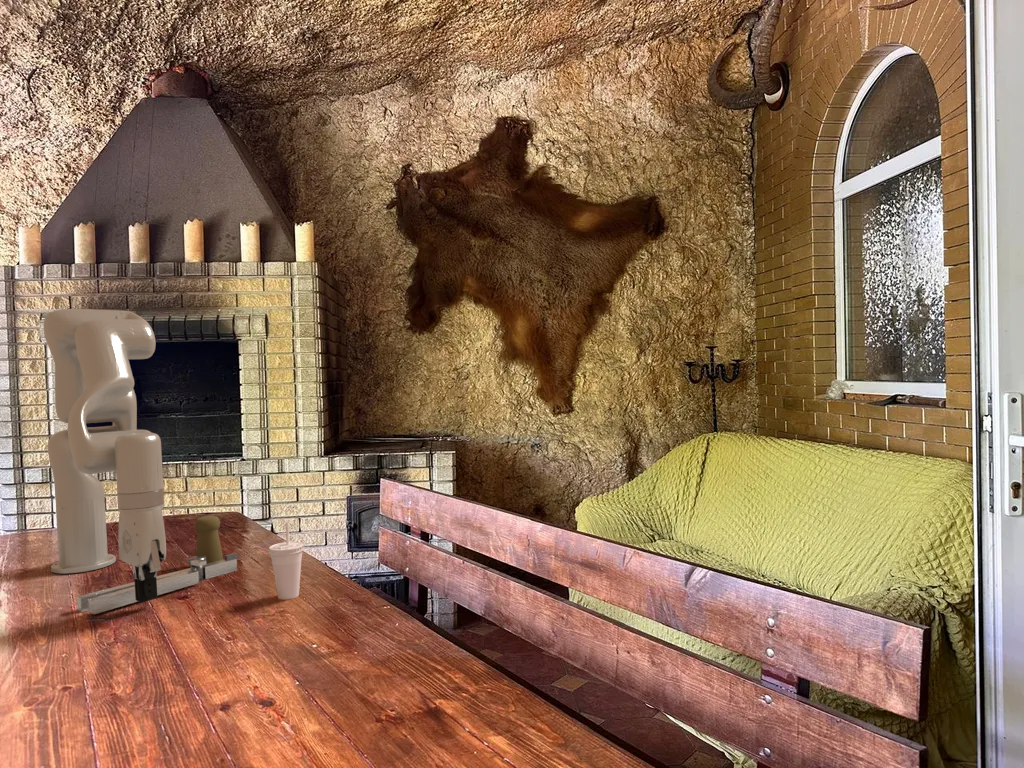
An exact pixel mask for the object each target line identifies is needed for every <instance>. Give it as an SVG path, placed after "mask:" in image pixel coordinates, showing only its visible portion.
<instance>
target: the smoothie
mask: <svg viewBox="0 0 1024 768" xmlns="http://www.w3.org/2000/svg"><path fill="white" fill-rule="evenodd" d="M304 549H305V547H304V543H303V542H301V541H290V527H289V522H288V521H286V522H285V541H284V542H279V543H276V544H273V545H272V544H271V545H270V546H269V547H268V554H269V555H270V559H271V563H272V565H271V566H272V570H273V574H274V575H273V576H274V581H275V586H276V592H277V598H278V599H279V600H283V601H285V600H287V601H288V600H293V599H296V598H298V597H299V595H300V585H301V584H300V583H301V571H302V570H301V569H302V557H303V551H304Z"/></svg>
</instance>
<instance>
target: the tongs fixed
mask: <svg viewBox="0 0 1024 768" xmlns="http://www.w3.org/2000/svg"><path fill="white" fill-rule="evenodd" d="M238 559H239V553H238V552H232V553H229V554H224V556H223V560H220V561H216V562H212V563H208V564H206V565H203V566H194V565H191V564H190V568H185V569H181V570H177V571H172V572H169V573H165V574H161V575H157V577H156V580H159V579H162V578H166V577H169V576H173V575H177V574H180V573H184V572H187V571H191V570H195V571H198V574H199V582H201V581H204V580H208V579H211V578H215V577H220V576H223V575H227V574H230V573H234V571H235V572H237V571H238ZM134 586H135V581H133V582H128V583H125V584H122V585H121V584H120V585H118V586H113V587H109V588H105V589H102V590H97V591H92V592H89V593H86V594H80V595H77V596H76V602H77V603H76V605H77V606H76V607H77V611H78V612H80V613H84V612H85V613H86V612H89V602H88V599H91V598H95V597H98V596H102V595H106V594H109V593H113V592H116V591H120V590H123V589H127V588H130V587H134Z"/></svg>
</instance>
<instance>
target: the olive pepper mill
mask: <svg viewBox="0 0 1024 768" xmlns="http://www.w3.org/2000/svg"><path fill="white" fill-rule="evenodd" d="M220 526H221V520H220V518H219V517H218V516H216V515H204V516H201V517H198V518H197V519H196V520H195V522H194V529H195V531H196V532H197V537H196V538H197V539H196V549H195V556H206V564H208V563H212V562H216V561H220V560H224V556H223V550H222V545H221V541H220V535H219V529H220Z"/></svg>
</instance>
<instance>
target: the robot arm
mask: <svg viewBox="0 0 1024 768" xmlns="http://www.w3.org/2000/svg"><path fill="white" fill-rule="evenodd" d="M43 334H44V338H45V342H46V344H47V347H48V349H49V351H50V353H51V356H52V358H53V362H54V399H55V400H54V403H55V405H54V406H55V412H56V416H57V418H58V419H59V421H61V422H62V423H65V424H67V428H66V429H64V430H61V431H58V432H55V433H54V434H53V435H51V436H50V438H49V439H48V442H47V455H48V459H49V463H50V466H51V471H52V472H51V473H52V477H53V484H54V497H55V513H56V514H55V515H56V528H57V529H56V531H57V547H58V548H57V550H58V561H56V562H54V563H53V564H51V566H50V570H51V572H52V573H55V574H63V575H64V574H65V575H67V574H78V573H85V572H86V573H87V572H91V571H94V570H100V569H103V568H105V567H108V566H110V565H113V564H114V563H115V562H116V561H117V557H116V555H114V554H112V553H109V552H108V551H109V550H108V537H107V536H108V535H107V517H106V500H105V499H106V497H105V488H104V485H103V483H102V482H101V480H100V479H98V478H97V477H96V476H95V475H94V474H105V473H112V472H115V475H116V476H115V478H116V495H117V497H116V498H117V511H118V512H119V516H118V531H117V533H118V540H117V542H118V547H117V548H118V558H119V560H120V561H122V562H124V563H125V564H129V565H131V567H132V574H133V578H134V582H135V598H136V601H137V602H138V603H144V602H147V601H152V600H155V599H157V598H158V595H157V580H156V577H157V576H158V572H159V571H161V570H162V568H161V562H164V561H165V560H166V558H167V541H166V539H167V538H166V531H165V530H166V528H165V522H164V515H163V510H162V509H163V507H165V493H164V491H165V490H164V476H163V475H164V474H163V457H162V441H161V440H162V439H161V437H160V435H159V434H157V433H154V432H152V431H150V430H147V429H138V428H137V425H138V424H137V423H138V422H137V420H138V418H137V417H138V416H137V415H138V413H137V412H138V411H137V410H138V407H137V405H138V404H137V403H138V402H137V395H136V393H135V389H134V387H135V378H134V376H133V371H132V368H131V364H130V360H145V359H146V360H147V359H149V358H151V357H152V356H153V354H154V353H155V351H156V341H157V340H156V337H155V336H156V335H155V332H154V331H153V328H152V326H151V325H150V323H149V322H148V321H147V320H146V319H144V318H143V317H141V316H140V315H139V314H136V313H135V312H132V311H129V310H122V309H121V310H118V309H117V310H115V309H94V308H93V309H91V308H65V309H63V308H62V309H55V310H53V311H50V312H49V313H47V314H46V315H45V317H44V320H43ZM109 422H110V423H112V425H105V426H92V427H90V426H89V427H88V426H87V424H92V423H93V424H97V423H109Z"/></svg>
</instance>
